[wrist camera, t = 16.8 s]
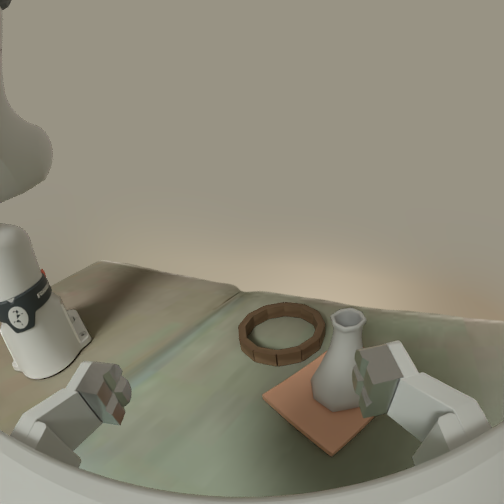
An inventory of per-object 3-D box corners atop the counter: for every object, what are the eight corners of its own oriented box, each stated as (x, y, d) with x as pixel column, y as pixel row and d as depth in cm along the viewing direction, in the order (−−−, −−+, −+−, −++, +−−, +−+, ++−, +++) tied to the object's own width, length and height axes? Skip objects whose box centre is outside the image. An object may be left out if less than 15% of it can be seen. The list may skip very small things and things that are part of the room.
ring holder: (225, 336, 41) (223, 326, 40) (286, 304, 47) (285, 294, 46) (275, 379, 31) (274, 368, 31) (340, 333, 37) (341, 322, 36)
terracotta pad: (263, 398, 29) (262, 394, 28) (344, 341, 35) (344, 337, 35) (331, 456, 20) (332, 453, 20) (410, 375, 27) (411, 371, 26)
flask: (300, 379, 30) (295, 310, 26) (352, 357, 31) (357, 289, 28) (328, 422, 23) (334, 355, 20) (385, 393, 25) (402, 322, 21)
